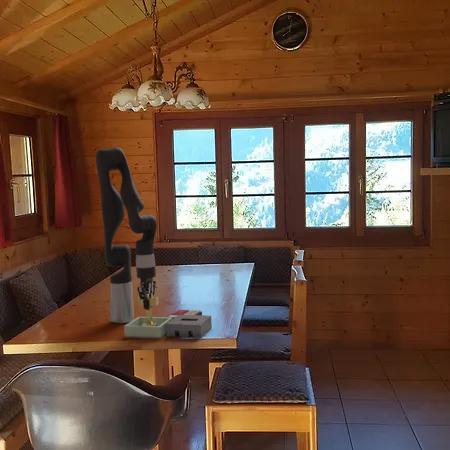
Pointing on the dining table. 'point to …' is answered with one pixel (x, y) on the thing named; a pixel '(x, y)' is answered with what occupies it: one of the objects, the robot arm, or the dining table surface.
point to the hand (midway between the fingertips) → (148, 308)
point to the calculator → (185, 313)
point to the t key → (149, 310)
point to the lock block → (189, 326)
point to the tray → (147, 328)
